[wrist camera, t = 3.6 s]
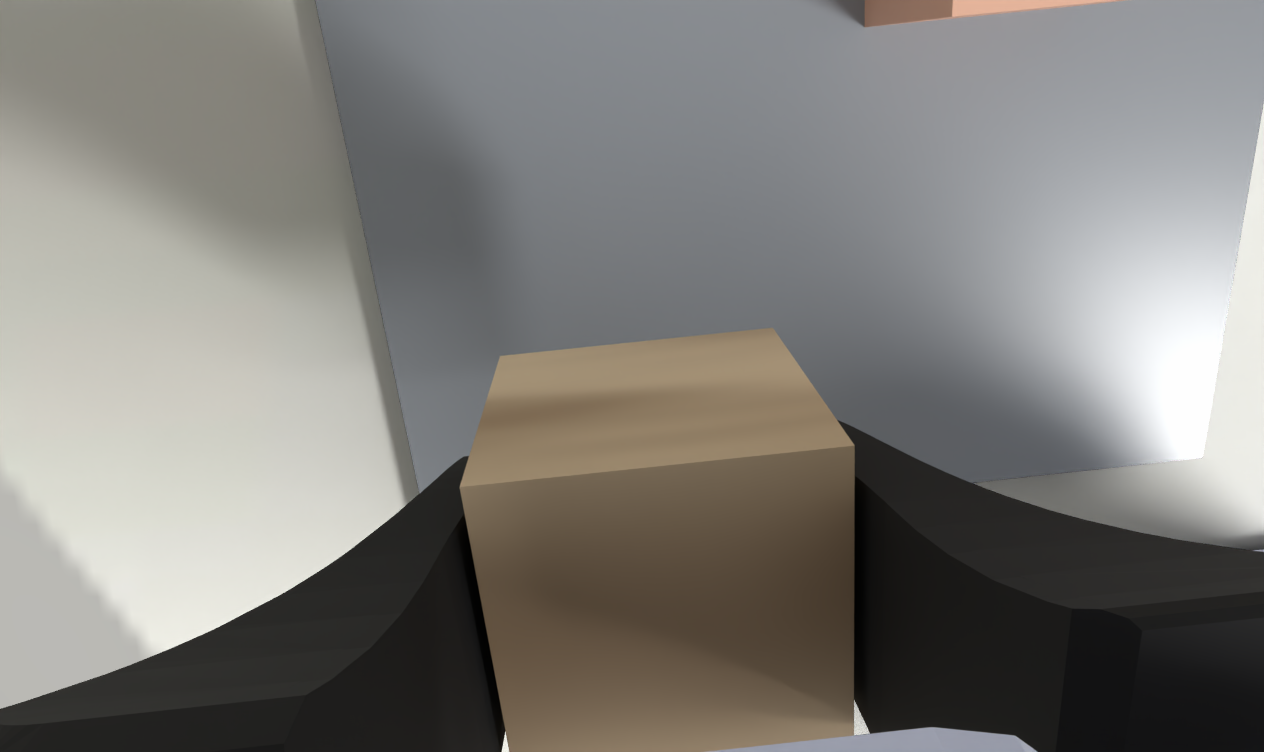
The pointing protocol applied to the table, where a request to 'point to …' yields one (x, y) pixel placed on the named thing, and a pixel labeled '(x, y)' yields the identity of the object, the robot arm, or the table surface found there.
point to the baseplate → (816, 206)
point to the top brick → (664, 547)
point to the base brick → (954, 9)
